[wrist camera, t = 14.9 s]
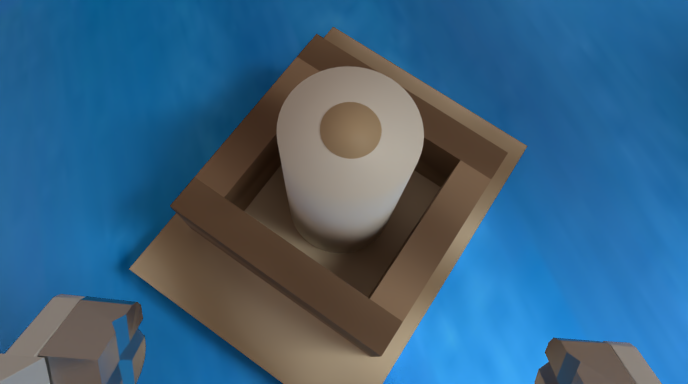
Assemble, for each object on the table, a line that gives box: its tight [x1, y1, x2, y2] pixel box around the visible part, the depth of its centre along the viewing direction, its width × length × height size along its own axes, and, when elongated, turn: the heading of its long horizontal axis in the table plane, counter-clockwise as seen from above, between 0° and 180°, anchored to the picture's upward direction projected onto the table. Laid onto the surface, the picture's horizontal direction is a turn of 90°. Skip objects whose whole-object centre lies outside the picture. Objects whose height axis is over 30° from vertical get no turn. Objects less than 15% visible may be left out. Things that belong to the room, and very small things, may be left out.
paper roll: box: [277, 66, 424, 253], centre depth 20 cm, size 5×5×8 cm
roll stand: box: [129, 27, 527, 384], centre depth 23 cm, size 16×12×5 cm
